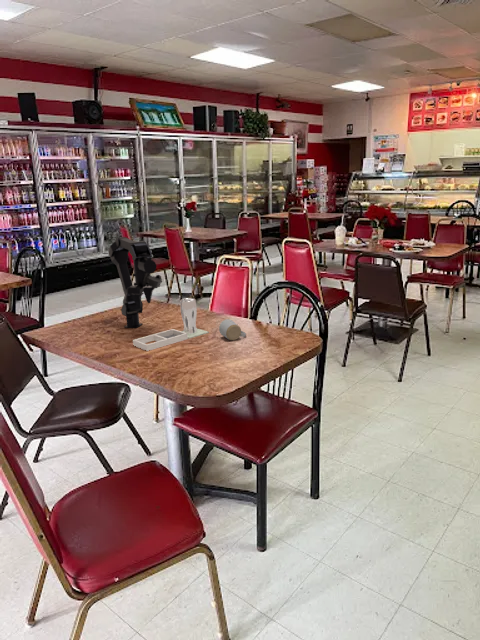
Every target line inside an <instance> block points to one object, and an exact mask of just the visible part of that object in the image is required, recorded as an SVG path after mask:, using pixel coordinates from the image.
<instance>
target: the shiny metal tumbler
mask: <svg viewBox="0 0 480 640" xmlns="http://www.w3.org/2000/svg"><path fill="white" fill-rule="evenodd" d="M197 311H198V309H197V300H196V299H195V298H194V297H188V298H187V297H186V298H182V299H180V315H181V319H182V323H183V331H184V333H187V335H191V334H196V333H197V329H198V328H197V325H196V322H197ZM196 328H197V329H196Z"/></svg>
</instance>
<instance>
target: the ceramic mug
mask: <svg viewBox="0 0 480 640" xmlns="http://www.w3.org/2000/svg"><path fill="white" fill-rule="evenodd" d="M218 331H219V333H220V335H221V336H223V337H224V338H225V339H227V340H230V341H236V340H238V339H239V338H240V337H243V338H245V337H246V336H247V333H246V332H245V331H242V329H241V327H240V326H239V325H238V324H237V323H236V322H235V321H234V320H232V319H230V318H229V319H228V318H227V319H224V320H222V321H221V322H220V324H219V326H218Z"/></svg>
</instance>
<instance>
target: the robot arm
mask: <svg viewBox="0 0 480 640" xmlns="http://www.w3.org/2000/svg"><path fill="white" fill-rule="evenodd" d="M129 254H130V256H132V258H131V260H133V261H132V262H133V270H134V273H132V277H134V280H135V282H134V283H133V281H132V278H131V275H130V270H129V267H128V264H127V263H128V258H129ZM108 256H109V258H110V260H111V263H113V265H115V266H116V268H117V272H118V275H119V279H120V284H121V287H122V290H123V294H124V296H123V298H122V299H123V300H122V306H121V309H120V310H121V315H122V316H124V317H126V319H125V320H126V325H125V326H123V327H124V328H126V329H137V328H139V327H141V326H142V325H143V323H142V322H140V317H139V314H143V311H144V310H143V308H144V307H143V305H144V303H143V301H142V296H143V295H144V297H145V300H146V303H148V304H150V303H151V301H152V296H153V291H154V290H155V289H158V288H159V287H160V286H161V284H162V282H163V279H162V276H161V275H160V274H156V275H155V276H154V275H151V274H153V273H155V272H156V270H157V264H156V261H154V260H153V259H152V257H153V252H152V250H151V248H150V247H149V244H148V243H147V242H146V241H145V240H141V241H140V240H139V241H135V240H133V239H130V238H128V237H126V236H123V237H117V238H116V239H115V241H114V242H113V243H111V244H110V246H109V248H108Z"/></svg>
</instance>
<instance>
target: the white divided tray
mask: <svg viewBox="0 0 480 640" xmlns="http://www.w3.org/2000/svg"><path fill="white" fill-rule="evenodd" d="M196 329H197V333H196V334H191V335H187V333H184V330H181V331H180V330H177V329H174V328H171V329H168V330H164V331H160V332H157V333H153V334H149V335H147V336H143V337H139V338H135V339H133V340H132V344H133V345H134V347H135V346H136V348H138V349H140V348H141V350H143V351H145V350H146V351H145V352H149V350H150V351H154V350H155V349H159V348H162V347H165V346H169V345H173V344H175V343H180V342H182V341H186V340H188V339H193V338H196V337H199V336H204V335H205V334H209V333H210V332H209V330H208V331H207V330H204V329H200V328H197V327H196ZM153 341H155V342H153Z"/></svg>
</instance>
